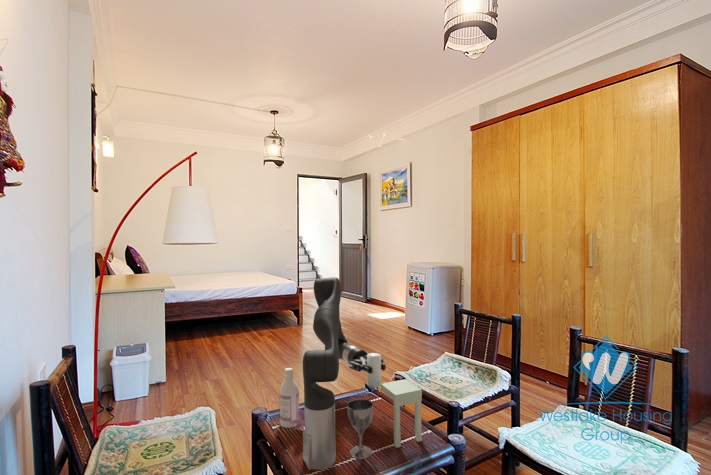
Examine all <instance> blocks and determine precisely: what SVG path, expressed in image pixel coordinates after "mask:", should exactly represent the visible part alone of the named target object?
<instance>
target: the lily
mask: <svg viewBox="0 0 711 475" xmlns="http://www.w3.org/2000/svg"><path fill="white" fill-rule="evenodd" d="M297 417H298V419H295V420H293V421H290V422H289V423H293V424H296V425H295V427H294V430H298V429H300V428H302V427H305V415H304V410H303V409H299V410H297Z"/></svg>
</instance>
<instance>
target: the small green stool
mask: <svg viewBox="0 0 711 475" xmlns="http://www.w3.org/2000/svg"><path fill="white" fill-rule="evenodd" d="M380 387H381V388H380V389H381V391H382V392H383V393H384V394H386V395H388V397H389V398H391V399H392V400H393V446H394V447H395V448H401V447H402V445H401V444H402V443H401V442H402V441H401V407H403V406H408V405H411V404H414V432H415V433H414V434H415V438H414V439H415V441H416V442H417V443H420V442H422V440H423V439H422V438H423V436H422V433H423V432H422V400H423V399H422V398H423V397H422V395H423V389H422V388H421V387H419V386H417V385H416V384H414V383H413V382H411V381H410V380H408V379H407V378H405V379H400V380H399V379H398V380H394V381H389V382H384V383H381V386H380ZM419 441H420V442H419Z"/></svg>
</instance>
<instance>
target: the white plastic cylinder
mask: <svg viewBox="0 0 711 475" xmlns="http://www.w3.org/2000/svg"><path fill="white" fill-rule="evenodd" d="M381 358H382V354H381V353H377V352H370V353H367V365H368V366H370V367H372V373H371V374H370V373H368V372H366V373H367V374H366V375H367V376H366V377H367V378H366V379H367V380H366V381H367V386H368V387H370V388H380V387H381V384H382V370H381Z"/></svg>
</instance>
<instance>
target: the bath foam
mask: <svg viewBox="0 0 711 475" xmlns="http://www.w3.org/2000/svg"><path fill="white" fill-rule="evenodd" d="M297 410H300V390H299V386H298V383H297V382H296V381H295V379H294V368H293V367H286V368H284V380H283V382H282V383H281V385H280V389H279V424H280V426H281V427H282V428H286V429H290V428H295V425H296V424H293V423H289V422H290V421H293V420H295V419H298V417H297Z"/></svg>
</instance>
